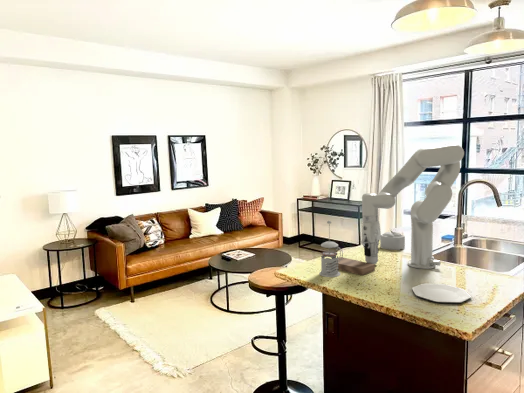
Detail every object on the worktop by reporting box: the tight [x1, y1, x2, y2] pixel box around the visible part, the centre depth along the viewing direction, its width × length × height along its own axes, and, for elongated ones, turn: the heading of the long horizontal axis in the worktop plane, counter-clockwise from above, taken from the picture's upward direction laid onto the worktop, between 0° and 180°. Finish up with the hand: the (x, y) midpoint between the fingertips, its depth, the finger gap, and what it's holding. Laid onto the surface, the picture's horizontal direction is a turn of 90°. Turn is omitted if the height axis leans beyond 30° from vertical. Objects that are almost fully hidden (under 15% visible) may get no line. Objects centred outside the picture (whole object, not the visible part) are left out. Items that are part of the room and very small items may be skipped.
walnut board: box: [329, 256, 376, 276], centre depth 186 cm, size 20×10×3 cm, turn 42°
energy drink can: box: [364, 237, 379, 265], centre depth 190 cm, size 6×6×15 cm
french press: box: [319, 220, 344, 278], centre depth 178 cm, size 10×12×25 cm
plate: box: [411, 282, 472, 304], centre depth 149 cm, size 20×20×2 cm
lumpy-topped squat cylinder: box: [379, 231, 406, 251], centre depth 223 cm, size 10×13×9 cm
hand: (371, 254), depth 191 cm, fingers closed on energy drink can, 6 cm apart
